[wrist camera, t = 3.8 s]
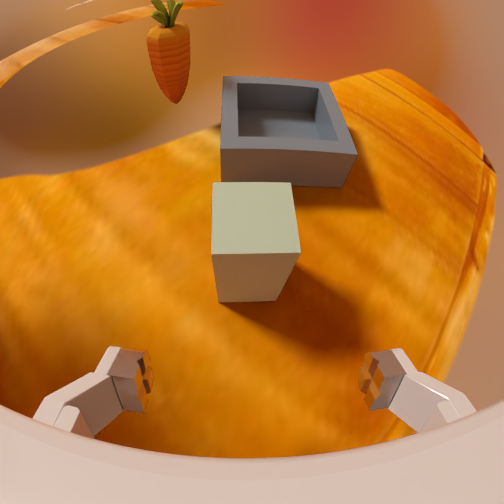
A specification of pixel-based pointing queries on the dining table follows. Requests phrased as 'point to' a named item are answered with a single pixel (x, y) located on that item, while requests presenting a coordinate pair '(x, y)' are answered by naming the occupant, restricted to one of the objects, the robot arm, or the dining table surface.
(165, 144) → the dining table surface
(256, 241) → the sage block
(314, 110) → the gray open box
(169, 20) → the carrot
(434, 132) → the dining table surface
